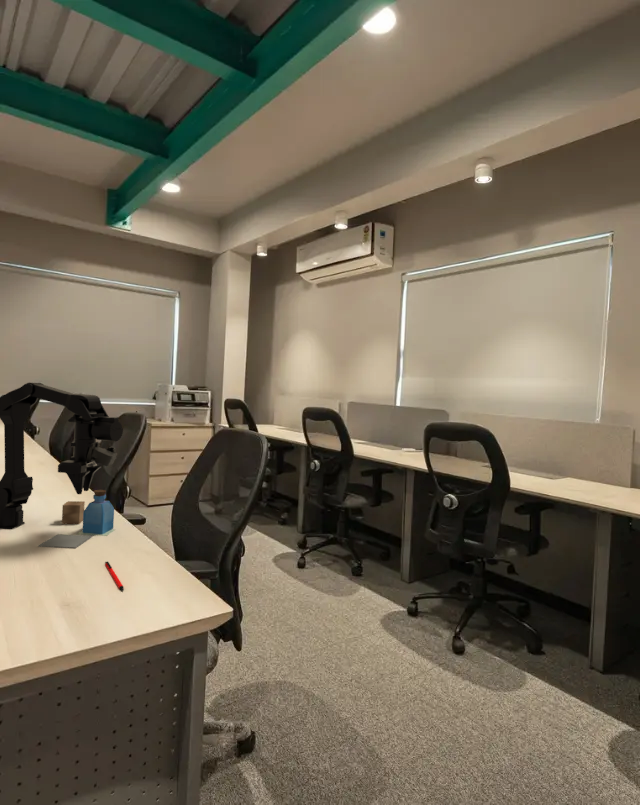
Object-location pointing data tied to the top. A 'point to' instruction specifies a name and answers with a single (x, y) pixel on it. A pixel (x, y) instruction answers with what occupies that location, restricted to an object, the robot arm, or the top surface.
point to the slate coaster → (65, 541)
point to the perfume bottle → (98, 515)
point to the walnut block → (73, 512)
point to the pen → (114, 576)
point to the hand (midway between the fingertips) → (82, 492)
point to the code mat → (96, 534)
